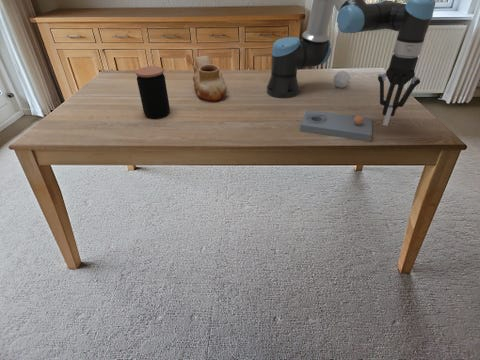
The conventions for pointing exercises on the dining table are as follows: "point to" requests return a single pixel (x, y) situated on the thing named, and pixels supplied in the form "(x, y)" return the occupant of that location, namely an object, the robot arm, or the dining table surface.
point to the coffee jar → (153, 91)
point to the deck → (336, 125)
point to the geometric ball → (341, 79)
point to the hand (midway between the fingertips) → (385, 123)
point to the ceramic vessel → (208, 80)
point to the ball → (358, 120)
